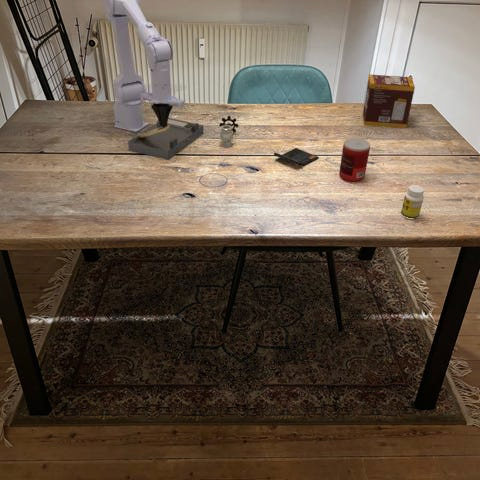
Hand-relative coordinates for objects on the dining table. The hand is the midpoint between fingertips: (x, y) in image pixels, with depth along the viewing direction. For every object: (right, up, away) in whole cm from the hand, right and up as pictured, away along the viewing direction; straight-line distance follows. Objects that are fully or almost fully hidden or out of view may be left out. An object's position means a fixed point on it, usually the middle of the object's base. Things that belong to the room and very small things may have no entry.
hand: (163, 125), depth 166 cm
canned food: (+58, -17, -5) cm, 60 cm away
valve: (+20, -2, +14) cm, 24 cm away
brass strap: (-4, -2, +3) cm, 5 cm away
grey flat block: (0, -3, +12) cm, 12 cm away
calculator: (+42, -10, +3) cm, 43 cm away
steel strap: (+3, +3, +15) cm, 16 cm away
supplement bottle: (+70, -29, -22) cm, 79 cm away
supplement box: (+77, +8, +31) cm, 84 cm away
